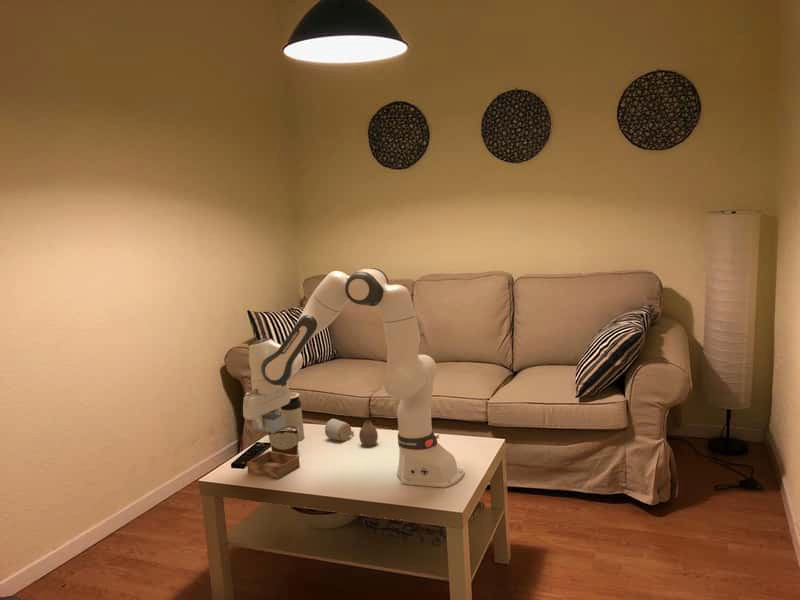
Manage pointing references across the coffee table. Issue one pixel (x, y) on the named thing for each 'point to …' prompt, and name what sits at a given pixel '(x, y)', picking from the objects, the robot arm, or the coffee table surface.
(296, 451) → the food container
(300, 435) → the travel mug
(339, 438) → the ceramic mug
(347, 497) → the coffee table surface
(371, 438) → the vase
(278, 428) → the small crate
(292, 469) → the big crate
